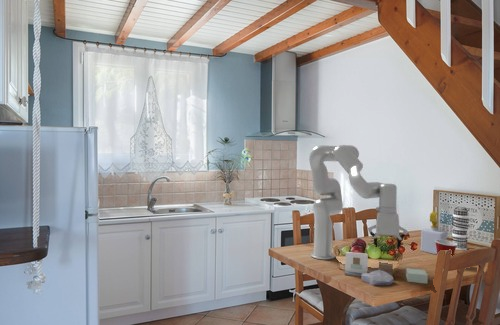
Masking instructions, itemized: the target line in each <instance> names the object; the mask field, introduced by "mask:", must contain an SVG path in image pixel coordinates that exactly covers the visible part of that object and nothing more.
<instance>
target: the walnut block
mask: <svg viewBox="0 0 500 325" xmlns="http://www.w3.org/2000/svg"><path fill="white" fill-rule="evenodd" d="M377 268H378V269H377V270H382V271H384V272H387V273H388V274H390V275H391V276H392V277H393V263H392V264H388V263H381V262H379V267H378V266H377Z"/></svg>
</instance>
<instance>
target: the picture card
mask: <svg viewBox="0 0 500 325" xmlns="http://www.w3.org/2000/svg"><path fill="white" fill-rule="evenodd" d="M368 257H369V254H368V253H363V252H351V251H346V252H345V259H344V260H345V261H344V262H345V263H344V264H345V265H344V276H351V277H359V278H361V277H362V274H363V273H368V265H369V264H368V263H369V260H368V259H369V258H368Z"/></svg>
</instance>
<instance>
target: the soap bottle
mask: <svg viewBox="0 0 500 325" xmlns="http://www.w3.org/2000/svg"><path fill="white" fill-rule="evenodd" d="M438 214H439V212H437V211H432V212H431V213H430V214H429V222H431V224H432V225H430V228H424V229H421V234H420V251H421V252H425V253H428V254H433V255H436V256H437V249H436V243H435V240H437V239H440V240H447V239H448V232H447V231H443V230H438V226H437V224H438V223H439V221H437V219H436V217H437V215H438ZM447 241H448V240H447Z"/></svg>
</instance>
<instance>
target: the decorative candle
mask: <svg viewBox="0 0 500 325" xmlns="http://www.w3.org/2000/svg"><path fill="white" fill-rule="evenodd" d="M452 210H453V213H452V215H451V216H452V217H451V219H452V221H451V222H452V223H451V225H452V226H451V229H452V235H451V242H455V243H457V244H458V245H457V246H456V249H455V250H458V251H467V250H468V243H467V242H468V234H467V233H468V231H469V230H468V229H469V228H468V227H469V225H468V224H469V216H468V213H469V212H468V211H469V210H468V209H467V207H465V206H455V207H454V208H453V209H452Z"/></svg>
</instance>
